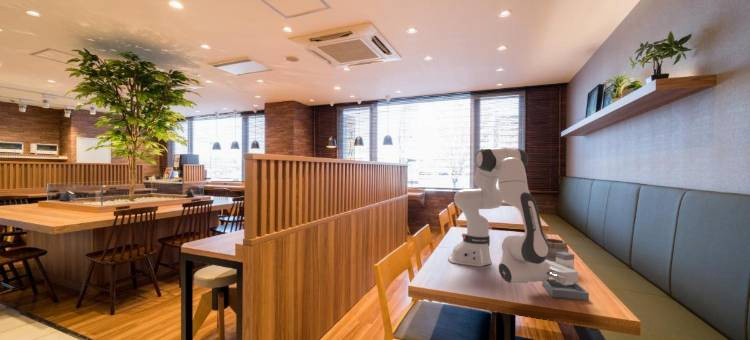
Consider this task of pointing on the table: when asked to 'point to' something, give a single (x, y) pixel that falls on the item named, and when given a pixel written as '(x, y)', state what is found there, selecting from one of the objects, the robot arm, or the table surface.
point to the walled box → (565, 290)
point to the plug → (565, 263)
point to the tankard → (555, 247)
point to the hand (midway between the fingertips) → (566, 266)
